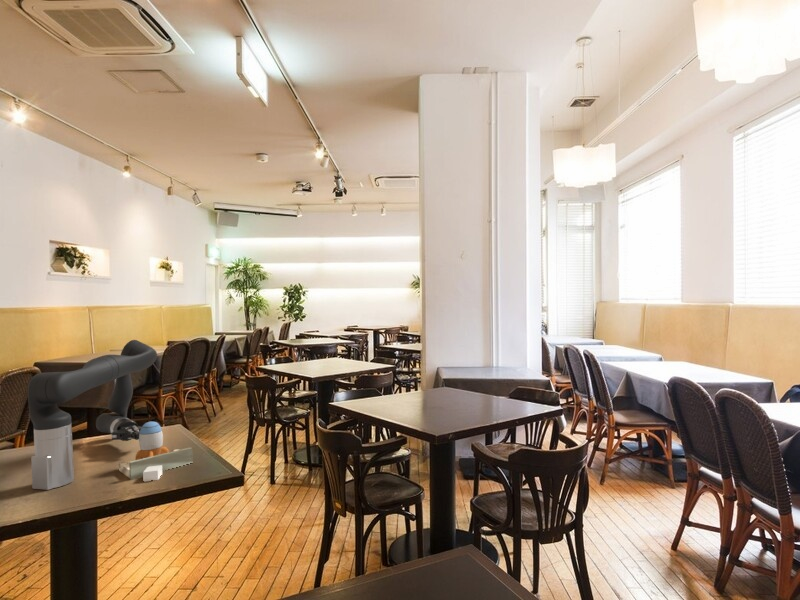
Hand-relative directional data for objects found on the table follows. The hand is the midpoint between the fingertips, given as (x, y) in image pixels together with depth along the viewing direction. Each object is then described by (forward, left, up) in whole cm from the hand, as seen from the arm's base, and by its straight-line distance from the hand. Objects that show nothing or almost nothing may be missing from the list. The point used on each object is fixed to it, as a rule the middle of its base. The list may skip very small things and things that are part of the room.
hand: (138, 436), depth 168 cm
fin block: (-17, -21, -7) cm, 28 cm away
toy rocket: (-7, -10, -7) cm, 14 cm away
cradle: (-8, -15, -7) cm, 18 cm away
